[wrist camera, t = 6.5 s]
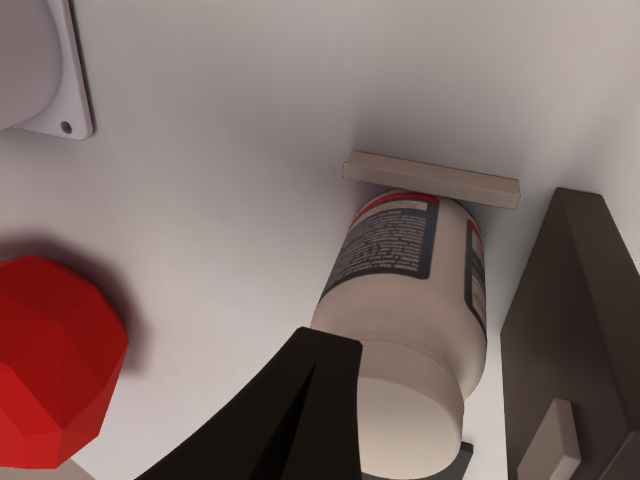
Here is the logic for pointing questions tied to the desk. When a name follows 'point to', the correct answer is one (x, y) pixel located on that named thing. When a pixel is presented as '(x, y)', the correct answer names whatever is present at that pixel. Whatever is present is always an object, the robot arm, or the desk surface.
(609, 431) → the upright grey panel
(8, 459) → the apple
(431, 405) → the pill bottle
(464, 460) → the coaster
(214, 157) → the desk surface
